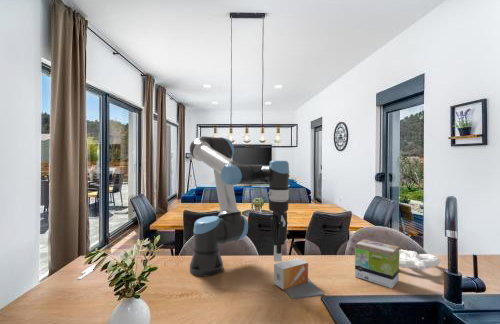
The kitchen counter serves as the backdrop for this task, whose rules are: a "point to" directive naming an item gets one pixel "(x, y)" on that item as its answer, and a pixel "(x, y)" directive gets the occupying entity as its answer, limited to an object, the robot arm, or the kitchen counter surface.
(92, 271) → the white plastic blade
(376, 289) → the kitchen counter surface
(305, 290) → the mat
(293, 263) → the small box
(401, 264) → the white towel
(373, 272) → the tea box
